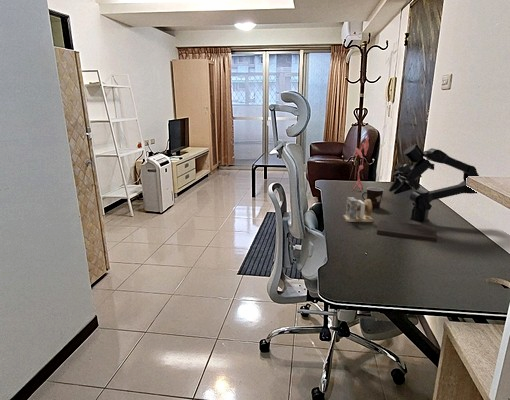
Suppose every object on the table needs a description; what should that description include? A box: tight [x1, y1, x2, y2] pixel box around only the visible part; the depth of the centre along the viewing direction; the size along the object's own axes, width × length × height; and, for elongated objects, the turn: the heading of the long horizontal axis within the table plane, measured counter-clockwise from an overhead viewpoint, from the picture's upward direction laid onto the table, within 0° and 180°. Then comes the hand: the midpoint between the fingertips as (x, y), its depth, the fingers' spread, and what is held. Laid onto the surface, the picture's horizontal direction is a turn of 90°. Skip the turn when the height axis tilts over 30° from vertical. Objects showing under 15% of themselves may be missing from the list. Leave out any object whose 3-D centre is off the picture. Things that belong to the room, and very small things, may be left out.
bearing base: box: [342, 196, 374, 223], centre depth 168 cm, size 12×7×10 cm, turn 91°
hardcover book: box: [376, 219, 438, 243], centre depth 153 cm, size 16×23×2 cm
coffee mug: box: [361, 186, 384, 209], centre depth 191 cm, size 12×9×10 cm
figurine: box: [352, 136, 371, 191], centre depth 229 cm, size 15×26×35 cm, turn 158°
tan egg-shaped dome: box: [357, 198, 373, 217], centre depth 168 cm, size 9×8×8 cm
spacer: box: [356, 199, 365, 218], centre depth 168 cm, size 2×7×7 cm, turn 2°
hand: (391, 192), depth 167 cm, fingers open, 5 cm apart
